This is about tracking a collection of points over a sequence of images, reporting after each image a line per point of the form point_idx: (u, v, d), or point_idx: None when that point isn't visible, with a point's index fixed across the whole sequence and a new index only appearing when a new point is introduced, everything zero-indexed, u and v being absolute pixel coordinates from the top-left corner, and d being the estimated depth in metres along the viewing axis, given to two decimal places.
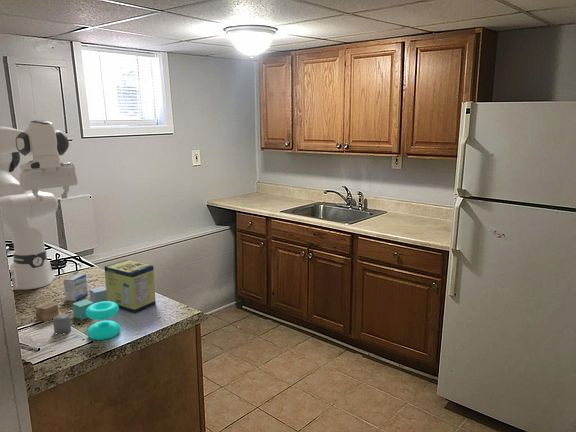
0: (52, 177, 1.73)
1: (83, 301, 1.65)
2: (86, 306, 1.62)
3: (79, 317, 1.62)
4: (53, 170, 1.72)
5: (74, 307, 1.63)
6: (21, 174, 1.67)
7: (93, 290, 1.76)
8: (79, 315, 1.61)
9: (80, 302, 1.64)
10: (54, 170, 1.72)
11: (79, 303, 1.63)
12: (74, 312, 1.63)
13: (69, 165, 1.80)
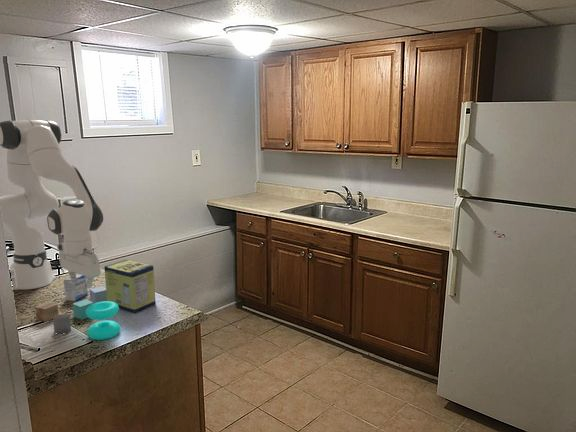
0: (75, 263, 1.59)
1: (83, 301, 1.65)
2: (86, 306, 1.62)
3: (79, 317, 1.62)
4: (70, 256, 1.57)
5: (74, 307, 1.63)
6: None
7: (93, 290, 1.76)
8: (79, 315, 1.61)
9: (80, 302, 1.64)
10: (71, 256, 1.57)
11: (79, 303, 1.63)
12: (74, 312, 1.63)
13: (90, 254, 1.55)
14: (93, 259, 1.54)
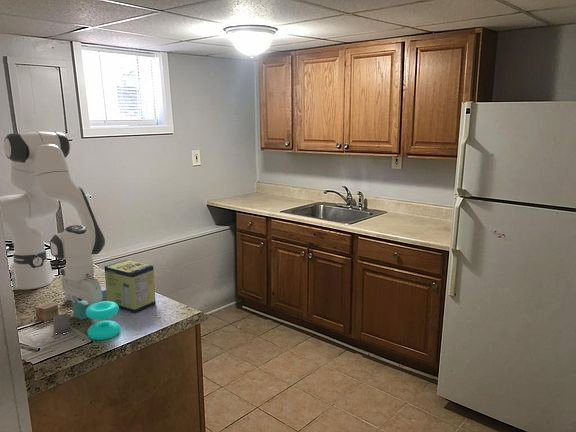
0: (77, 288, 1.61)
1: (83, 301, 1.65)
2: (86, 306, 1.62)
3: (79, 317, 1.62)
4: (73, 281, 1.59)
5: (74, 307, 1.63)
6: None
7: None
8: (79, 315, 1.61)
9: (80, 302, 1.64)
10: (74, 282, 1.59)
11: (79, 303, 1.63)
12: (74, 312, 1.63)
13: (92, 280, 1.56)
14: (95, 285, 1.56)
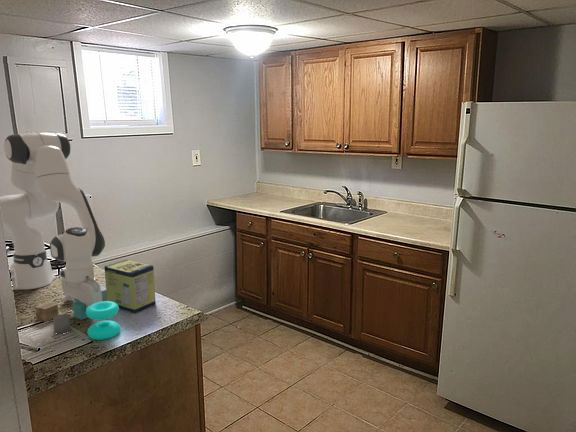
0: (77, 290, 1.61)
1: None
2: None
3: (79, 317, 1.62)
4: (73, 283, 1.59)
5: (74, 307, 1.63)
6: None
7: None
8: (79, 315, 1.61)
9: (80, 302, 1.64)
10: (74, 284, 1.59)
11: (79, 303, 1.63)
12: (74, 312, 1.63)
13: (92, 282, 1.57)
14: (95, 287, 1.56)
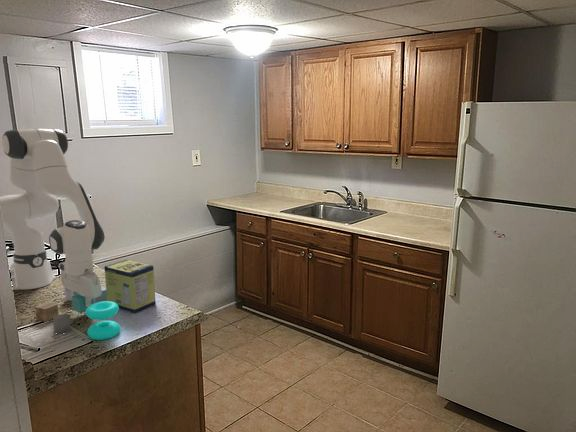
0: (76, 283, 1.61)
1: None
2: (85, 299, 1.62)
3: (78, 310, 1.61)
4: (72, 276, 1.59)
5: (73, 300, 1.62)
6: None
7: None
8: (78, 308, 1.61)
9: (79, 295, 1.64)
10: (73, 277, 1.59)
11: (78, 296, 1.63)
12: (73, 305, 1.63)
13: (91, 275, 1.56)
14: (94, 280, 1.56)
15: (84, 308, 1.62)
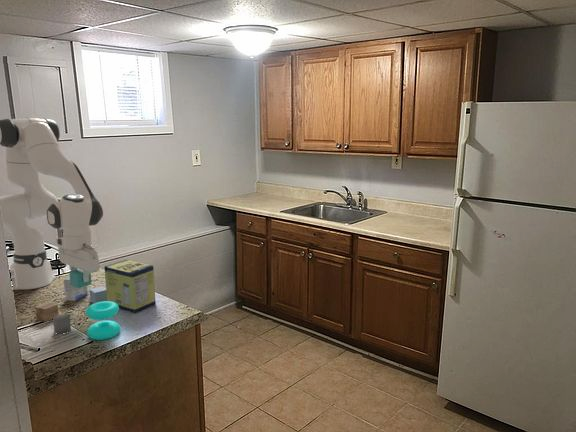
0: (74, 258, 1.59)
1: None
2: None
3: (76, 285, 1.59)
4: (70, 251, 1.57)
5: (71, 275, 1.60)
6: None
7: (93, 290, 1.76)
8: (76, 283, 1.59)
9: (77, 270, 1.62)
10: (71, 251, 1.57)
11: (76, 271, 1.61)
12: (71, 280, 1.61)
13: (89, 249, 1.54)
14: (92, 254, 1.54)
15: (82, 283, 1.60)
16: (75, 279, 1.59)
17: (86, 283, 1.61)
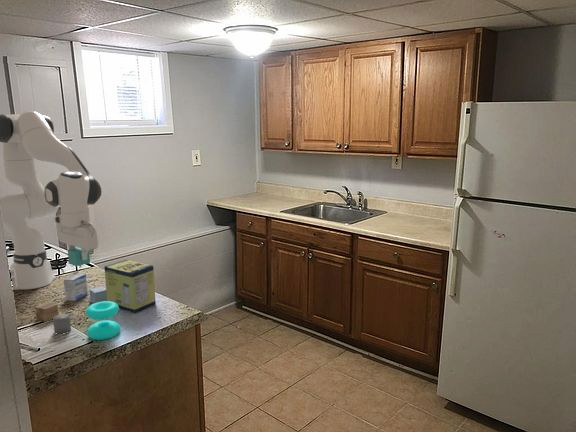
0: (72, 235, 1.57)
1: (79, 248, 1.61)
2: (81, 252, 1.58)
3: (74, 263, 1.58)
4: (68, 228, 1.55)
5: (69, 253, 1.59)
6: None
7: (93, 290, 1.76)
8: (74, 261, 1.57)
9: (75, 249, 1.60)
10: (69, 228, 1.55)
11: (74, 249, 1.59)
12: (69, 259, 1.59)
13: (88, 226, 1.53)
14: (91, 231, 1.52)
15: (80, 261, 1.58)
16: (73, 257, 1.57)
17: (85, 261, 1.60)
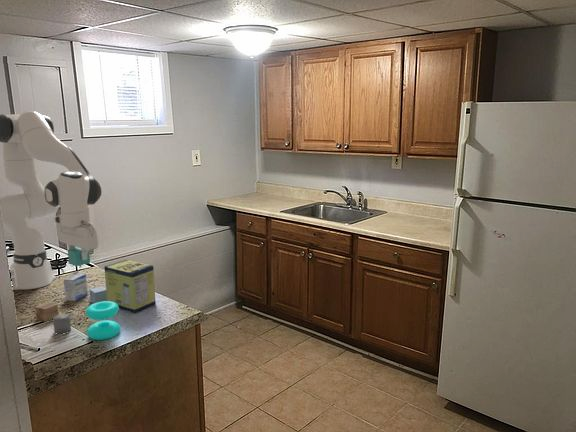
0: (72, 235, 1.57)
1: (79, 248, 1.61)
2: (81, 252, 1.58)
3: (74, 263, 1.58)
4: (68, 228, 1.55)
5: (69, 253, 1.59)
6: None
7: (93, 290, 1.76)
8: (74, 261, 1.57)
9: (75, 249, 1.60)
10: (69, 228, 1.55)
11: (74, 249, 1.59)
12: (69, 259, 1.59)
13: (88, 226, 1.53)
14: (91, 231, 1.52)
15: (80, 261, 1.58)
16: (73, 257, 1.57)
17: (85, 261, 1.60)
